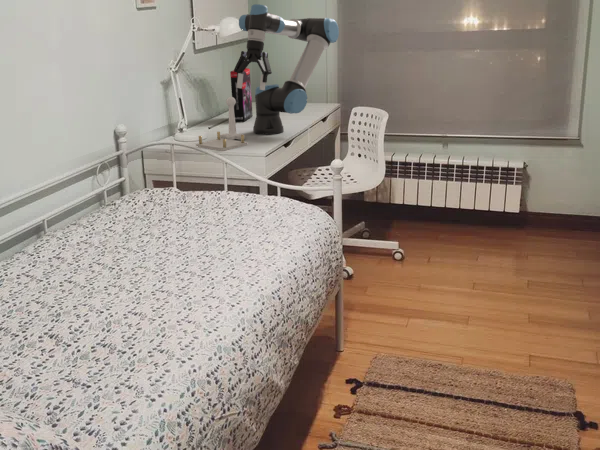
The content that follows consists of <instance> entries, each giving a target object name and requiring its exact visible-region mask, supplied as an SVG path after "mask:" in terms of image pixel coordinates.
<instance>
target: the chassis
mask: <svg viewBox="0 0 600 450" xmlns="http://www.w3.org/2000/svg"><path fill="white" fill-rule="evenodd" d="M216 135H217V136H216V138H217V139H211V140H208V141H205V142H203V136H202V135H198V143H196V144H195V147H196V146H198V147H197V148H200V149H201V148H202V149H208V150H209V149H210V150H216V151H221V152H225V151H229V150H233V149H237V148H241V147H244V146H248V144H249V143H248V141H245V134H244V135H241V140H237V139H234V140H228V139H221V138H220V135H221V132H220V131H216Z"/></svg>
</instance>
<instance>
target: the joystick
mask: <svg viewBox="0 0 600 450" xmlns="http://www.w3.org/2000/svg"><path fill="white" fill-rule="evenodd" d="M225 101H226V102H225V103H226V105H227V107H228V133H220V138H221V139H228V140H239V141H241V135H244V136H245V134H243V133H242V134H241V133H237V127H236V122H235V115H234V105H235V103H236V100H235V98H233V97H232V96H229V97H227V98H226V100H225Z"/></svg>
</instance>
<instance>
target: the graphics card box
mask: <svg viewBox="0 0 600 450" xmlns="http://www.w3.org/2000/svg"><path fill="white" fill-rule="evenodd" d="M229 72H230V87H231V97H233V98H235V100H236V103H235V105H234V115H235V123H237V122H238V123H241V122H242V123H243V122H247V120H249V119H251V118H252V117H253V100H252V98H253V97H252V87H251V86H252V85H251V69H250V68H248V67H246V68H245V70H244V71H243V72H242V73H243V83H242V88H237V72H235V71H234V69H233V70H231V71H229Z"/></svg>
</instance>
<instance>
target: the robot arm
mask: <svg viewBox="0 0 600 450" xmlns="http://www.w3.org/2000/svg"><path fill="white" fill-rule="evenodd" d="M238 27H239V28H240V30H241V31H243V32H248V33H247V41H246V49H247V50H246V51H243V50H241V52H240V57H239V58H238V59H237V62H236V64H235V67H234V69H233V70H234V71H235V72H237V88H242V83H243V73H242V72H243V71H244V70H245V68H248V66H249V64H251V63H257V65H258V67H259V69H260V71H261V74H260V81H259V86H257V87H256V88H255V94H254V96H255V97H254V98H255V114H256V115H255V116H256V117H255V120H254V124H253V130H252V131H253V133H255V134H258V135H275V134H280V133H283V132H284V125H283V123H282V119H281V115H280V114H281V113H283V114H284V113H285V114H299V113H301V112H303V111H304V109H305V108H306V107H307V103H308V95H307V89H306V87H307V85H308V83H309V82H310V79H311V76H312V75H313V73H314V71H315V69H316V66H317V64H318V62H319V61H320V58H321V57H322V54H323V52H324V51H326V50H328V49H329V46H330V44H331V43H333V44H334V43H336V42H337V41H338V39H339V35H340V31H339V25H338V22H337V21H336V20H335V19H334V18H329V17H323V18H318V17H316V18H315V17H307V18H290V19H285V18H283V17H282V16H279V14H278V15H276V14H274V13H271V12H269V11H268V6H267V5H264V4H258V3H257V4H256V3H255V4H252V5H251V7H250V13H249V14H242V15H241V16H239V19H238ZM242 29H243V30H242ZM266 34H272V35H279V36H287V37H288V38H290V39H292V40H298V41H302V42H307V43H306V46H305V48H304V50H303V52H302V54H300V55H301V56H300V58H299V59H298V62H297V64H296V66H295V67H294V70H293V72H292V74H291V76H290V78H289V80H286V81H284V84H283V85H282V87H280V85H279V84H277V83H276V84H266V83H267V82H268V76H269V75H271V74H272V68H271V65H270V64H271V63H270V60H269V53H268V52H266V51H264V46H265V38H266V37H265V36H266Z"/></svg>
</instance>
